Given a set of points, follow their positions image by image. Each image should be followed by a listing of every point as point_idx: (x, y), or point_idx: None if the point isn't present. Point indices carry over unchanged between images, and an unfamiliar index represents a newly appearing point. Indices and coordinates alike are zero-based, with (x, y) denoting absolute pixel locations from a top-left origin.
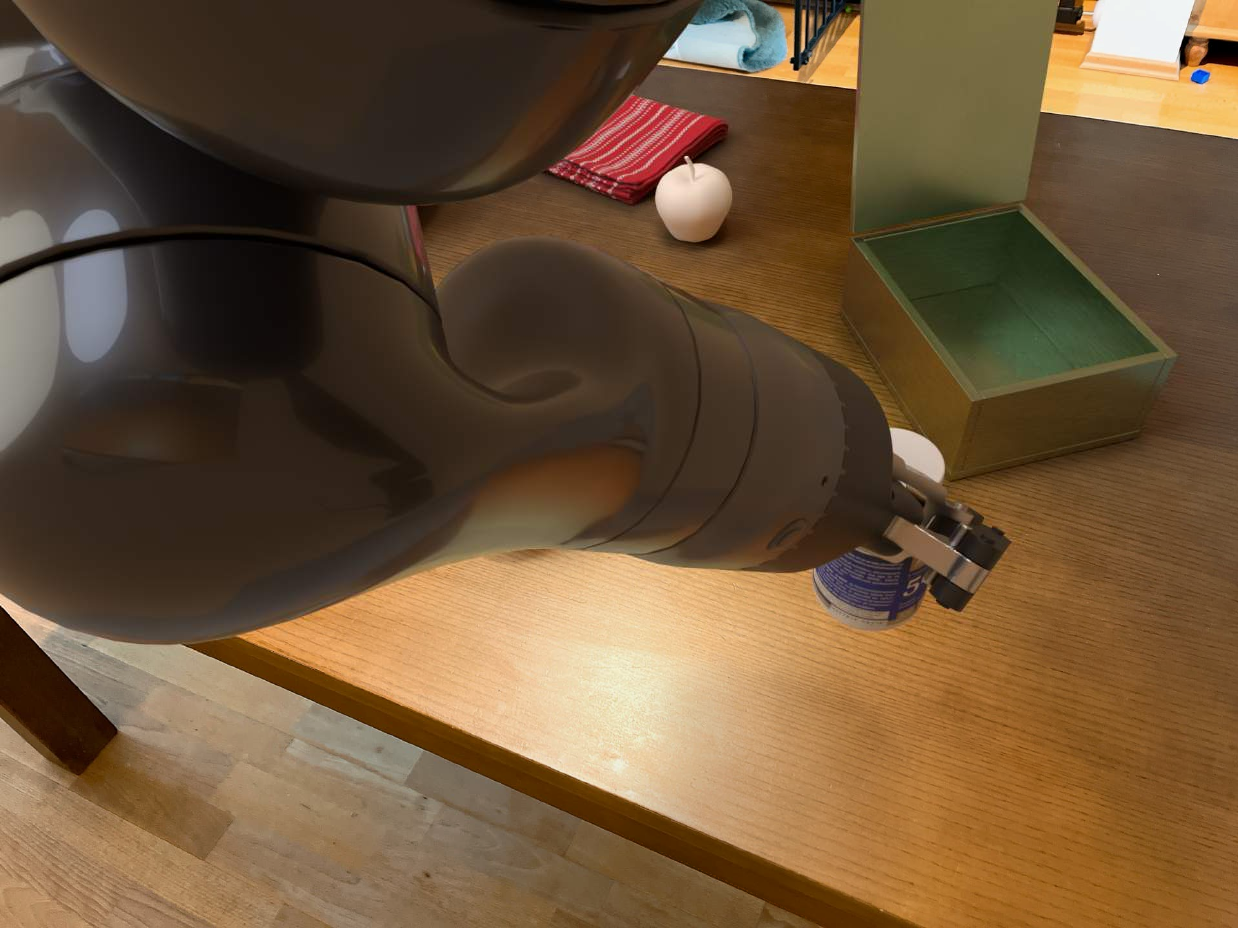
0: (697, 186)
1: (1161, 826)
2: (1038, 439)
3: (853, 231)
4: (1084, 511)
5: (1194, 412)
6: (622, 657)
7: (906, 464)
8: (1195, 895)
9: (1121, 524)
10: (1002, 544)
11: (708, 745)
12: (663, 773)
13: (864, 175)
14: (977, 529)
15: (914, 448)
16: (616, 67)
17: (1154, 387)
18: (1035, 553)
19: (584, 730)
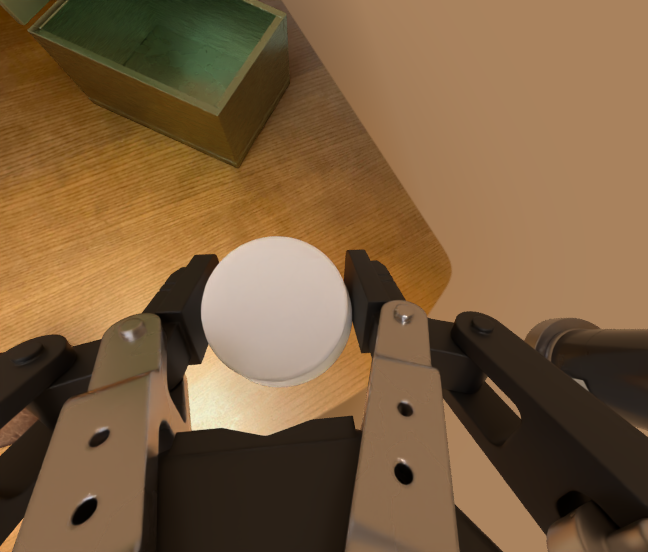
0: None
1: (421, 256)
2: (258, 114)
3: (22, 22)
4: (300, 139)
5: (299, 53)
6: None
7: (366, 411)
8: (446, 271)
9: (317, 135)
10: (632, 433)
11: (262, 396)
12: (257, 429)
13: None
14: (608, 463)
15: (279, 264)
16: None
17: (285, 45)
18: (300, 177)
19: None
